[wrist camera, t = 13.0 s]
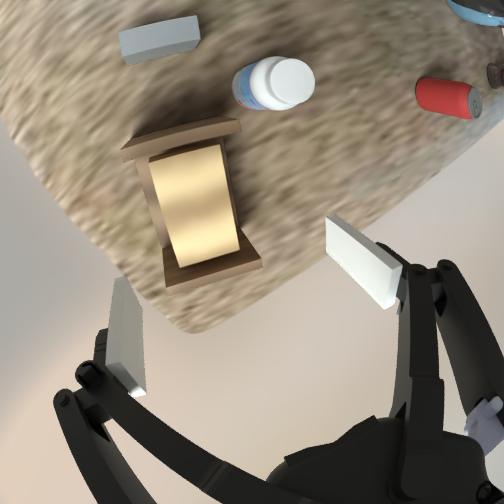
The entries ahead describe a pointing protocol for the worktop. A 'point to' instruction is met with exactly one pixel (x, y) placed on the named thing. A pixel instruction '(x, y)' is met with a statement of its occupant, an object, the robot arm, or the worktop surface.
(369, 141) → the worktop surface
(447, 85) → the beer can
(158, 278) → the worktop surface
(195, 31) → the riser block
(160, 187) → the shelf board
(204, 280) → the peg frame
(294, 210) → the worktop surface
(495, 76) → the mortar and pestle
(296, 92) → the pill bottle
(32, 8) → the worktop surface
